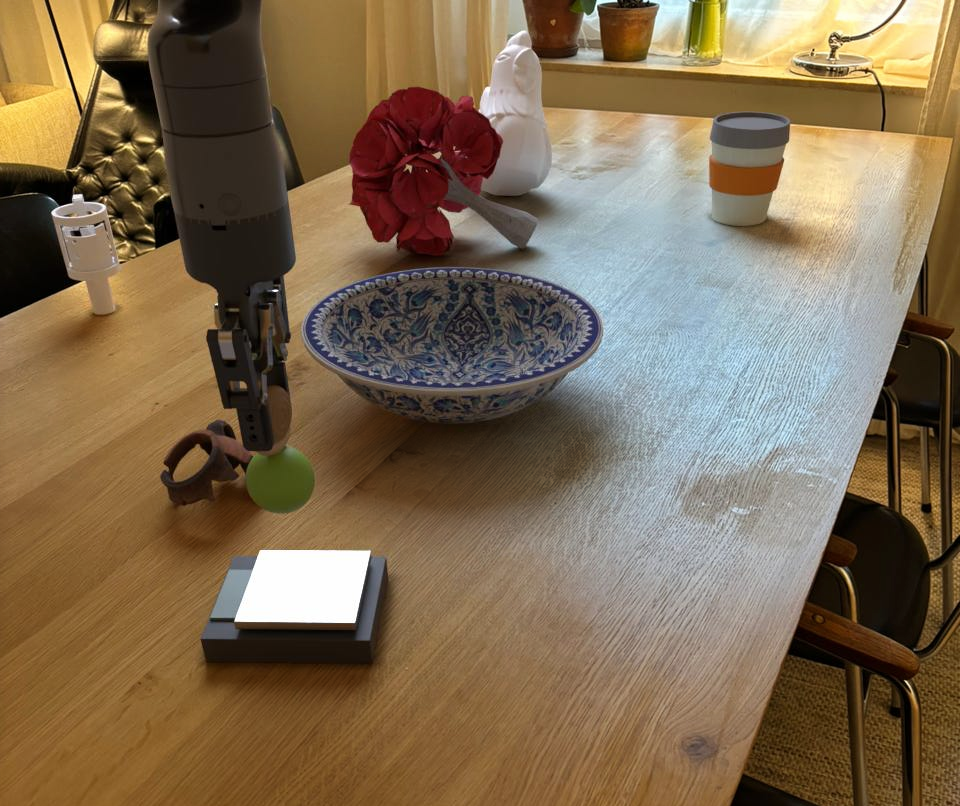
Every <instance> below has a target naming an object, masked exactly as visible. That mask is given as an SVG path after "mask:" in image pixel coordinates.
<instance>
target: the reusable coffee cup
mask: <svg viewBox="0 0 960 806" xmlns="http://www.w3.org/2000/svg"><path fill="white" fill-rule="evenodd" d="M790 131H791V120H790V119H789V118H788V117H786V116H784V115H781V114H775V113H771V112H765V111H764V112H763V111H733V112H726V113H722V114H718V115H715V116H714V118H713V120H712V125H711V129H710V134H709V140H710V141H711V153H710V155H709V157H708V185H709V188H710V189H711V219H712V220H713V221H715V222H717V223H719V224H723V225H726V226H736V227H748V226H756V225H759V224H762V223H764V222H765V221H766V219H767V215H768V212H769V209H770V205H771V201H772V197H773V193H774V192H775V191H776V190H777V188H778V185H779V181H780V178H781V174H782V172H783V171H782V170H783V167H784V163H785V158H784V153H785V149H786V147H787V144H788V143H789V142H790V134H791V132H790Z"/></svg>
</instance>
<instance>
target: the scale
mask: <svg viewBox="0 0 960 806" xmlns="http://www.w3.org/2000/svg"><path fill="white" fill-rule="evenodd" d="M257 557H258V555H233V556H232V558H231V562H230V564H229V567H228V569H227V571H226V573H225V576H224V579H223V581H222V584H221V586H220V589H219V591H218V594H217V597H216V599H215V601H214V604H213V607H212V609H211V611H210V614H209V617H208V619H207V622H206V624H205V626H204V629H203V631H202V634H201V637H200V643H201V646H202V650H203V655H204V659H205V662H206V663H265V664H266V663H269V664H270V663H273V664H274V663H275V664H276V663H279V664H353V665H354V664H357V665H358V664H361V665H363V664H365V665H366V664H367V665H368V664H369V665H370V664H371V665H372V664H374V659H375V658H374V657H375V651H376V647H377V646H376V645H377V641H378V637H379V631H380V626H381V622H382V621H381V620H382V615H383V610H384V605H385V600H386V599H385V598H386V595H387V588H388V584H389V572H388V571H389V570H388V561H387V560H388V559H387V556H371V563H370V567H369V572H368V577H367V581H366V586H365V591H364V595H363V600H362V605H361V609H360V614H359V619H358V623H357V628H356V630H276V629H235V624H234V620H235V618H236V615H237V612H238V609H239V607H240V604H241V601H242V598H243V596H244V593H245V590H246V588H247V585H248V582H249V579H250V577H251V574H252V571H253V568H254V566H255V563H256V560H257Z"/></svg>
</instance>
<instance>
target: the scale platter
mask: <svg viewBox="0 0 960 806" xmlns="http://www.w3.org/2000/svg"><path fill="white" fill-rule="evenodd" d="M257 556H258V557H257V560H256V563H255V566H254V568H253V571H252V574H251V577H250V579H249V582H248V585H247V588H246V590H245V593H244V596H243V598H242V601H241V604H240V607H239V609H238V612H237V615H236V618H235V620H234V624H235V629H276V630H356V628H357V623H358V619H359V614H360V609H361V605H362V600H363V595H364V591H365V586H366V581H367V577H368V572H369V567H370V563H371V557H372V551H371V550H298V549H297V550H291V549H289V550H288V549H287V550H286V549H284V550H280V549H277V550H276V549H275V550H272V549H261V550H259V552H258V555H257Z"/></svg>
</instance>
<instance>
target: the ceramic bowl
mask: <svg viewBox="0 0 960 806" xmlns="http://www.w3.org/2000/svg"><path fill="white" fill-rule="evenodd" d="M300 336H301V340H302V343H303V346H304V348H305V350H306V351H307V352H308V354H309V356H311V358H312V359H313V360H315V361H316V362H317V364H319V365H320V366H322V367H323V368H325V369H326V370H328V371H329V372H332V373H333V374H335V375H337V376H338V377H339V379H341V381H342V382H343V383H345V385H346V386H347V387H348V388H350V390H352V391H353V392H355V394H357V395H358V396H359V397H361V398H362V399H364V400H366V401H367V402H369V403H370V404H372V405H374V406H376V407H377V408H380V409H382V410H384V411H386V412H389V413H391V414H394V415H397V416H399V417H402V418H403V417H404V418H407V419H410V420H414V421H420V422H426V423H435V424H469V423H470V424H471V423H478V422H479V423H480V422H483V421H484V422H485V421H490V420H495V419H499V418H503V417H505V416H508V415H511V414H514V413H516V412H518V411H519V412H520V411H521V410H523V409H525V408H528V407H529V406H531V405H533V404H535V403H536V402H538V401H539V400H541V399H542V398H545V396H546V395H548V394H549V393H550V392H551V391H553V390H554V389H555V388H557V386H558V385H559V384H561V383H562V381H563V380H564V379H565V378H566V377H567V375H568V374H569V373H571V372H573V371H574V370H576V369H578V368H579V367H581V366H582V365H584V364H585V363H586V362H587V361H588V360H589V359H591V358H592V357H593V356H594V355H595V353H596V352H597V351H598V350H599V347H600V345H601V344H602V340H603V336H604V325H603V319H602V318H601V316H600V314H599V312H598V311H597V309H596V308H595V307H594V306H593V305H592V304H591V303H590V302H589V301H587V299H586V298H584V297H582V296H581V295H579V294H578V293H576V292H575V291H574V290H573V291H572V290H571V289H569V288H567V287H564V286H563V285H560V284H558V283H555V282H552V281H549V280H546V279H544V278H541V277H537V276H532V275H530V274H529V275H528V274H524V273H518V272H514V271H509V270H503V269H493V268H486V267H485V268H484V267H471V266H469V267H468V266H467V267H465V266H440V267H439V266H438V267H424V268H423V267H422V268H414V269H407V270H399V271H393V272H388V273H383V274H378V275H374V276H371V277H370V276H369V277H368V278H364V279H360V280H357V281H354V282H351V283H349V284H346V285H344V286H341V287H340V288H338V289H336V290H333V291H332V292H329V293H328V294H327V295H325V296H323V297H322V298H321V299H320V300H318V301H317V302H315V304H313V305H312V306H311V308H310V309H309V310H308V311H307V312H306V314H305V316H304V317H303V320H302V323H301V329H300Z"/></svg>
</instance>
